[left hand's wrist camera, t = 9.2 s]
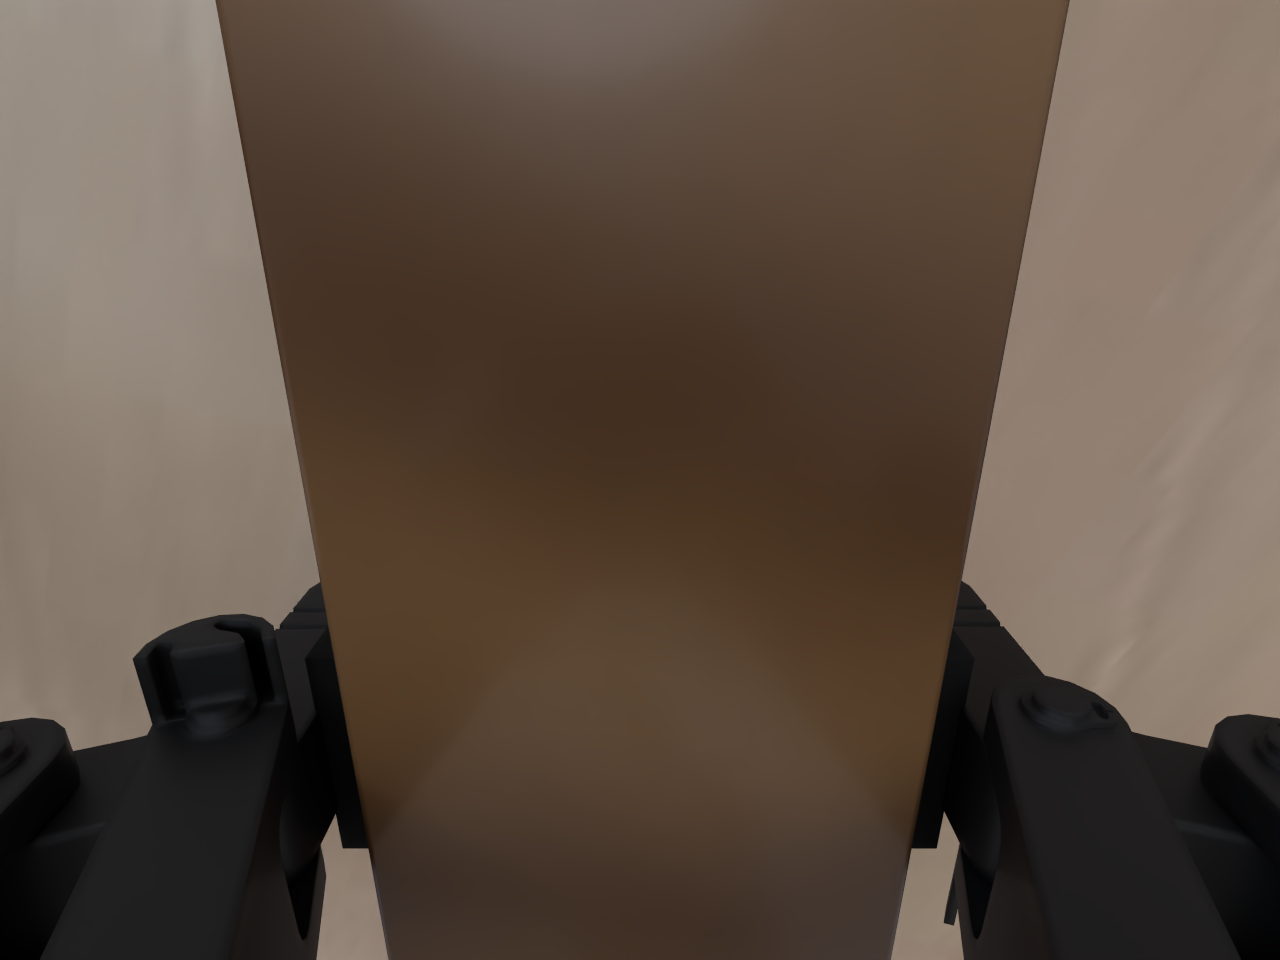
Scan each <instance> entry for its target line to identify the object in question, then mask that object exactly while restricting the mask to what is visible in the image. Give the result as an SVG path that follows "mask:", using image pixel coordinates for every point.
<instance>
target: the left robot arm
mask: <svg viewBox="0 0 1280 960" xmlns="http://www.w3.org/2000/svg"><path fill="white" fill-rule="evenodd" d="M293 609H294V611H293V612H290V613H289V614H288V616H287V617H286V618H285V619H284V620H283V622H282V623H281V624H280V629H276V630H275V631H274V626H273V625H271V624H270V623H269V622H268V621H266V620H265V619H264V618H261V617H256V616H251V615H246V614H234V615H218V616H214V617H209V618H205V619H200V620H196V621H192V622H190V623H187V624H184V625H182V626H179V627H177V628H174V629H172V630H169V631H167V632H165V633H164V634H162V635H160V636H159V637H157V638H156V639H154V640H152V641H151V642H149V643H147V644H146V645H145V646H144V647H143V648H142V649H141V650H140V651H139V652H138V654H137V655H136V656H135V657H134V658H133V662H134V665H135V668H136V672H137V675H138V678H139V681H140V685H141V688H142V691H143V695H144V698H145V701H146V705H147V708H148V711H149V714H150V718H151V721H152V724H153V725H152V727H151V729H150V731H149V733H148V735H146V736H142V737H139V738H135V739H130V740H125V741H120V742H116V743H111V744H106V745H101V746H96V747H91V748H86V749H82V750H77V751H73V750H72V747H71V744H70V742H69V739H68V736H67V733H66V731H65V728H63V727H62V726H61V725H59V724H58V723H57V722H55V721H54V720H48V719H40V718H26V719H19V720H12V721H4V722H0V960H316V957H317V949H318V941H319V932H320V924H321V916H322V907H323V899H324V891H325V882H326V872H325V865H324V859H323V854H322V849H321V843H322V841H323V839H324V837H325V835H326V833H327V830H328V828H329V826H330V824H331V822H332V820H333V818H334V816H335V814H336V817H337V822H338V827H339V832H340V837H341V842H342V847H343V848H368V842H367V837H366V831H365V826H364V820H363V815H362V809H361V804H360V798H359V793H358V787H357V781H356V776H355V770H354V765H353V759H352V754H351V748H350V743H349V737H348V732H347V726H346V721H345V715H344V709H343V704H342V698H341V693H340V687H339V682H338V676H337V671H336V665H335V660H334V654H333V648H332V643H331V637H330V632H329V626H328V621H327V615H326V610H325V604H324V599H323V593H322V587H321V582H320V583H318V584H316V585H315V586H313V587H312V588H310V589H309V590H308V591H307V593H306V594H305V595H304V596H303V597H302V599H301V600H300V601H299V602H298V603H297V605H296V606H295V607H294V608H293ZM944 812H945V814H946V816H947V818H948V820H949V822H950V824H951V826H952V828H953V830H954V832H955V834H956V836H957V838H958V840H959V842H960V845H959V849H958V854H957V859H956V863H955V868H954V873H953V877H952V882H951V886H950V891H949V896H948V900H947V905H946V911H945V918H944V923H946V924H950V925H954V923H955V918H956V914H957V909H958V914H959V922H960V930H961V939H962V947H963V955H964V960H1280V719H1279V718H1272V717H1265V716H1258V715H1250V714H1246V715H1237V716H1228V717H1226V718H1225V719H1223V720H1222V721H1220V722H1219V723H1218V724H1216V725H1215V728H1214V731H1213V734H1212V737H1211V739H1210V742H1209V745H1208V748H1205V747H1200V746H1195V745H1190V744H1185V743H1180V742H1175V741H1171V740H1166V739H1161V738H1156V737H1151V736H1146V735H1142V734H1138V733H1135V732H1131V729H1130V727H1129V725H1128V723H1127V722H1126V721H1125V720H1124V718H1123V717H1122V716H1121V714H1120V713H1119V712H1118V711H1117V709H1116V708H1115V707H1114V706H1112V705H1111V704H1109V703H1108V702H1107V701H1105V700H1104V699H1102V698H1101V697H1100V696H1098V695H1097V694H1095V693H1093V692H1091V691H1089V690H1087V689H1085V688H1082V687H1080V686H1078V685H1076V684H1074V683H1071V682H1068V681H1064V680H1060V679H1056V678H1052V677H1048V676H1045V675H1044V674H1043V673H1042V672H1041V671H1040V669H1039V668H1038V667H1037V666H1036V665H1035V663H1034V662H1033V661H1032V660H1031V659H1030V657H1029V656H1028V655H1027V654H1026V653H1025V651H1024V650H1023V649H1022V648H1021V647H1020V646H1019V644H1018V643H1017V642H1016V641H1015V640H1014V638H1013V637H1012V636H1011V635H1010V634H1009V632H1008V631H1007V630H1006V629H1005V628H1004V626H1000V622H999V620H998V619H997V618H996V617H995V616H994V614H993V613H992V612H991V611H990V610H987V609H986V605H985V604H984V602H983V601H982V600H981V599H980V598H979V596H978V595H977V594H976V593H975V592H974V590H973V589H972V588H971V587H970V586H969V585H967V584H966V583H964V582H962V581H961V585H960V590H959V596H958V601H957V607H956V612H955V617H954V623H953V628H952V633H951V639H950V644H949V649H948V655H947V660H946V665H945V671H944V676H943V682H942V687H941V692H940V698H939V703H938V708H937V714H936V719H935V724H934V730H933V735H932V741H931V746H930V751H929V757H928V762H927V767H926V773H925V778H924V783H923V789H922V794H921V800H920V805H919V810H918V816H917V821H916V826H915V832H914V837H913V842H912V848H937V844H938V839H939V834H940V829H941V824H942V819H943V814H944Z"/></svg>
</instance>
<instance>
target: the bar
mask: <svg viewBox="0 0 1280 960" xmlns="http://www.w3.org/2000/svg"><path fill="white" fill-rule="evenodd" d="M1069 1H1070V0H216V5H217V11H218V17H219V22H220V28H221V33H222V39H223V44H224V50H225V55H226V61H227V66H228V72H229V77H230V83H231V89H232V94H233V100H234V105H235V111H236V116H237V122H238V127H239V133H240V138H241V144H242V150H243V155H244V161H245V166H246V172H247V177H248V183H249V188H250V194H251V199H252V205H253V211H254V216H255V222H256V227H257V233H258V238H259V244H260V249H261V255H262V260H263V266H264V272H265V277H266V283H267V288H268V294H269V299H270V305H271V310H272V316H273V321H274V327H275V332H276V338H277V344H278V349H279V355H280V360H281V366H282V371H283V377H284V382H285V388H286V393H287V399H288V405H289V410H290V416H291V421H292V427H293V432H294V438H295V443H296V449H297V454H298V460H299V466H300V471H301V477H302V482H303V488H304V493H305V499H306V504H307V510H308V515H309V521H310V526H311V532H312V538H313V543H314V549H315V554H316V560H317V565H318V571H319V576H320V582H321V587H322V593H323V599H324V604H325V610H326V615H327V621H328V626H329V632H330V637H331V643H332V648H333V654H334V660H335V665H336V671H337V676H338V682H339V687H340V693H341V698H342V704H343V709H344V715H345V721H346V726H347V732H348V737H349V743H350V748H351V754H352V759H353V765H354V770H355V776H356V781H357V787H358V793H359V798H360V804H361V809H362V815H363V820H364V826H365V831H366V837H367V842H368V848H369V854H370V859H371V865H372V870H373V876H374V881H375V887H376V892H377V898H378V903H379V909H380V915H381V920H382V926H383V931H384V937H385V942H386V948H387V953H388V959H389V960H891V955H892V950H893V944H894V939H895V934H896V928H897V923H898V918H899V912H900V907H901V901H902V896H903V891H904V885H905V880H906V875H907V869H908V864H909V859H910V853H911V848H912V842H913V837H914V832H915V826H916V821H917V816H918V810H919V805H920V800H921V794H922V789H923V783H924V778H925V773H926V767H927V762H928V757H929V751H930V746H931V741H932V735H933V730H934V724H935V719H936V714H937V708H938V703H939V698H940V692H941V687H942V682H943V676H944V671H945V665H946V660H947V655H948V649H949V644H950V639H951V633H952V628H953V623H954V617H955V612H956V607H957V601H958V596H959V590H960V585H961V580H962V574H963V569H964V564H965V558H966V553H967V548H968V542H969V537H970V531H971V526H972V521H973V515H974V510H975V505H976V499H977V494H978V489H979V483H980V478H981V472H982V467H983V462H984V456H985V451H986V446H987V440H988V435H989V430H990V424H991V419H992V413H993V408H994V403H995V397H996V392H997V387H998V381H999V376H1000V371H1001V365H1002V360H1003V354H1004V349H1005V344H1006V338H1007V333H1008V328H1009V322H1010V317H1011V312H1012V306H1013V301H1014V295H1015V290H1016V285H1017V279H1018V274H1019V269H1020V263H1021V258H1022V253H1023V247H1024V242H1025V236H1026V231H1027V226H1028V220H1029V215H1030V210H1031V204H1032V199H1033V194H1034V188H1035V183H1036V177H1037V172H1038V167H1039V161H1040V156H1041V151H1042V145H1043V140H1044V135H1045V129H1046V124H1047V119H1048V113H1049V108H1050V102H1051V97H1052V92H1053V86H1054V81H1055V76H1056V70H1057V65H1058V60H1059V54H1060V49H1061V43H1062V38H1063V33H1064V27H1065V22H1066V17H1067V11H1068V6H1069Z"/></svg>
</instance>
